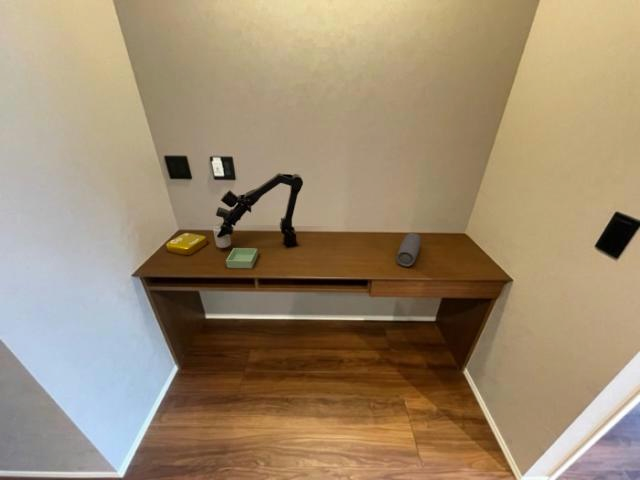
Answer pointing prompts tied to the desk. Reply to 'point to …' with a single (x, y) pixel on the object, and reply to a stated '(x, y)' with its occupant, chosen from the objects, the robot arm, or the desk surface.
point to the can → (221, 241)
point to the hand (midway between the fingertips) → (218, 233)
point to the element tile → (186, 244)
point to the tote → (242, 258)
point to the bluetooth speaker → (409, 249)
